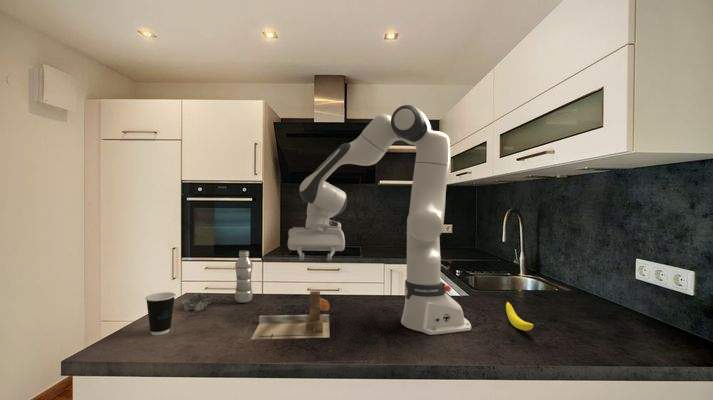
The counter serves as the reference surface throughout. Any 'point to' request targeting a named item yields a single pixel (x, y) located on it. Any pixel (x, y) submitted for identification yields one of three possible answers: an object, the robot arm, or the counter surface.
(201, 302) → the egg carton
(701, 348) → the counter surface
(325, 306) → the pastry
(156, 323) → the dixie cup
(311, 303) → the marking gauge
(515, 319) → the banana
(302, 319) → the birch board
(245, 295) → the plastic bottle
